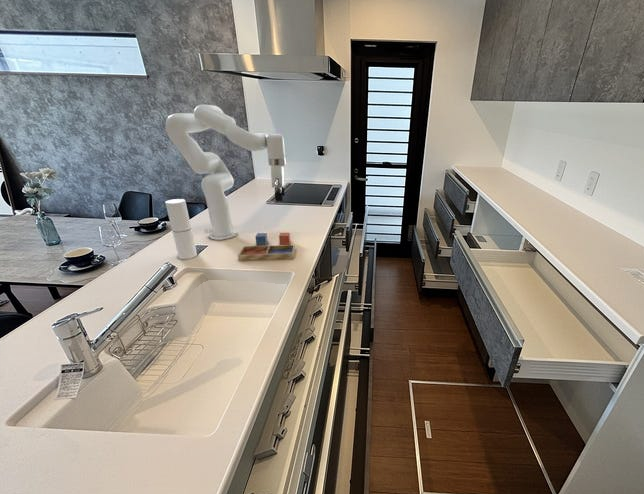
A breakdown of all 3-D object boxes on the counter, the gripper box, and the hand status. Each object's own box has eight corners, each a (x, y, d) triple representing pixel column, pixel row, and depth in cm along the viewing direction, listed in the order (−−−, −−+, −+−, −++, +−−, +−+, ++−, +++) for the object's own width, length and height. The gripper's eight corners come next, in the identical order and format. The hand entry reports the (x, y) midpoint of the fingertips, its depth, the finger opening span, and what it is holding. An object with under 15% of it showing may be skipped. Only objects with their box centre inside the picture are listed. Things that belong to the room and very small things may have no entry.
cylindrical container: (178, 260, 131) (164, 204, 121) (179, 253, 137) (165, 199, 127) (197, 257, 134) (184, 202, 124) (197, 251, 140) (185, 198, 130)
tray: (238, 260, 132) (237, 255, 131) (244, 251, 141) (243, 246, 140) (293, 259, 135) (292, 253, 134) (295, 249, 144) (294, 244, 143)
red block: (279, 245, 148) (279, 236, 146) (281, 241, 152) (280, 232, 150) (289, 245, 149) (288, 235, 147) (290, 241, 153) (289, 232, 151)
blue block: (256, 246, 147) (255, 236, 145) (258, 242, 151) (257, 233, 149) (266, 245, 147) (265, 236, 145) (267, 242, 151) (266, 233, 149)
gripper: (271, 159, 147) (274, 194, 154) (265, 164, 132) (269, 203, 138) (287, 159, 148) (289, 193, 155) (283, 165, 133) (286, 202, 140)
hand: (280, 198), depth 147 cm, fingers open, 9 cm apart
